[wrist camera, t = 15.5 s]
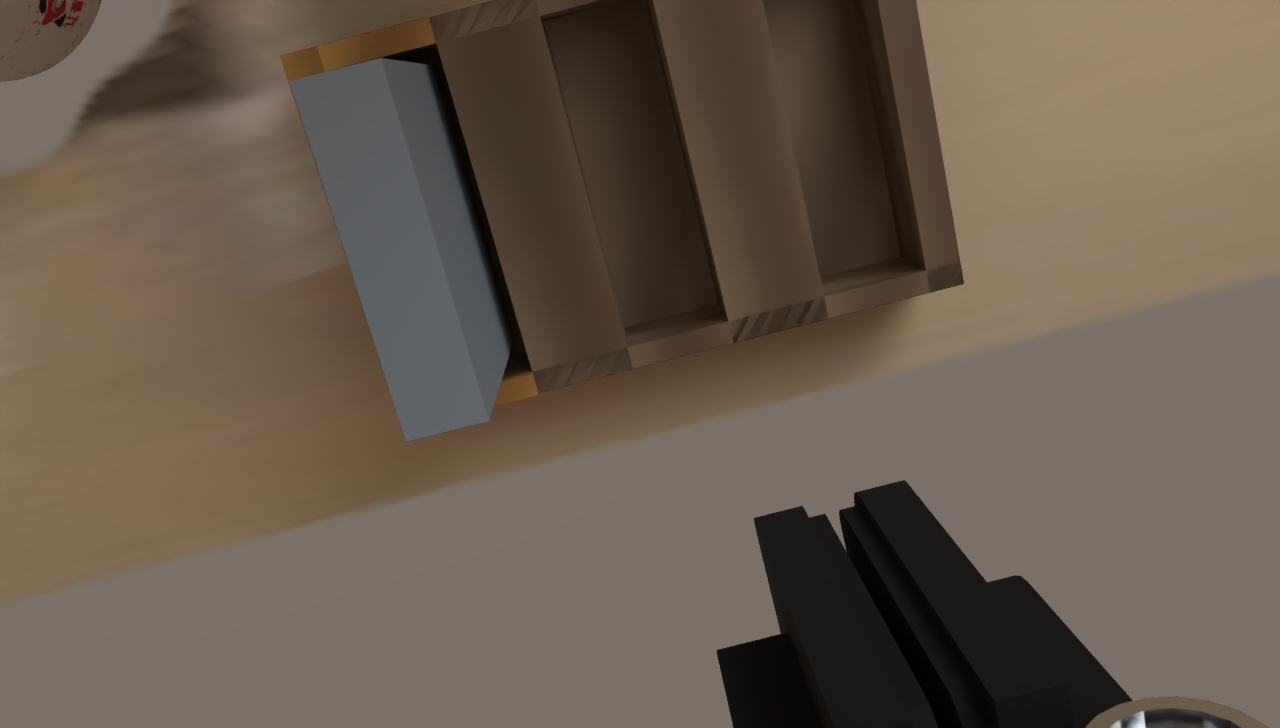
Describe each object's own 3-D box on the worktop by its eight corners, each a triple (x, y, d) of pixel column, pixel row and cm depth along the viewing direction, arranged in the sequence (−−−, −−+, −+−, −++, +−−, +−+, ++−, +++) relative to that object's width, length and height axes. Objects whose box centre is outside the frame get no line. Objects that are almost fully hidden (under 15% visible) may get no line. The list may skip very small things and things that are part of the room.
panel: (452, 353, 38) (406, 441, 29) (370, 82, 36) (289, 80, 26) (514, 337, 38) (489, 421, 29) (437, 65, 36) (380, 57, 26)
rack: (425, 390, 40) (404, 430, 36) (318, 60, 37) (279, 56, 32) (923, 262, 40) (967, 285, 35) (861, -84, 37) (900, -109, 32)
